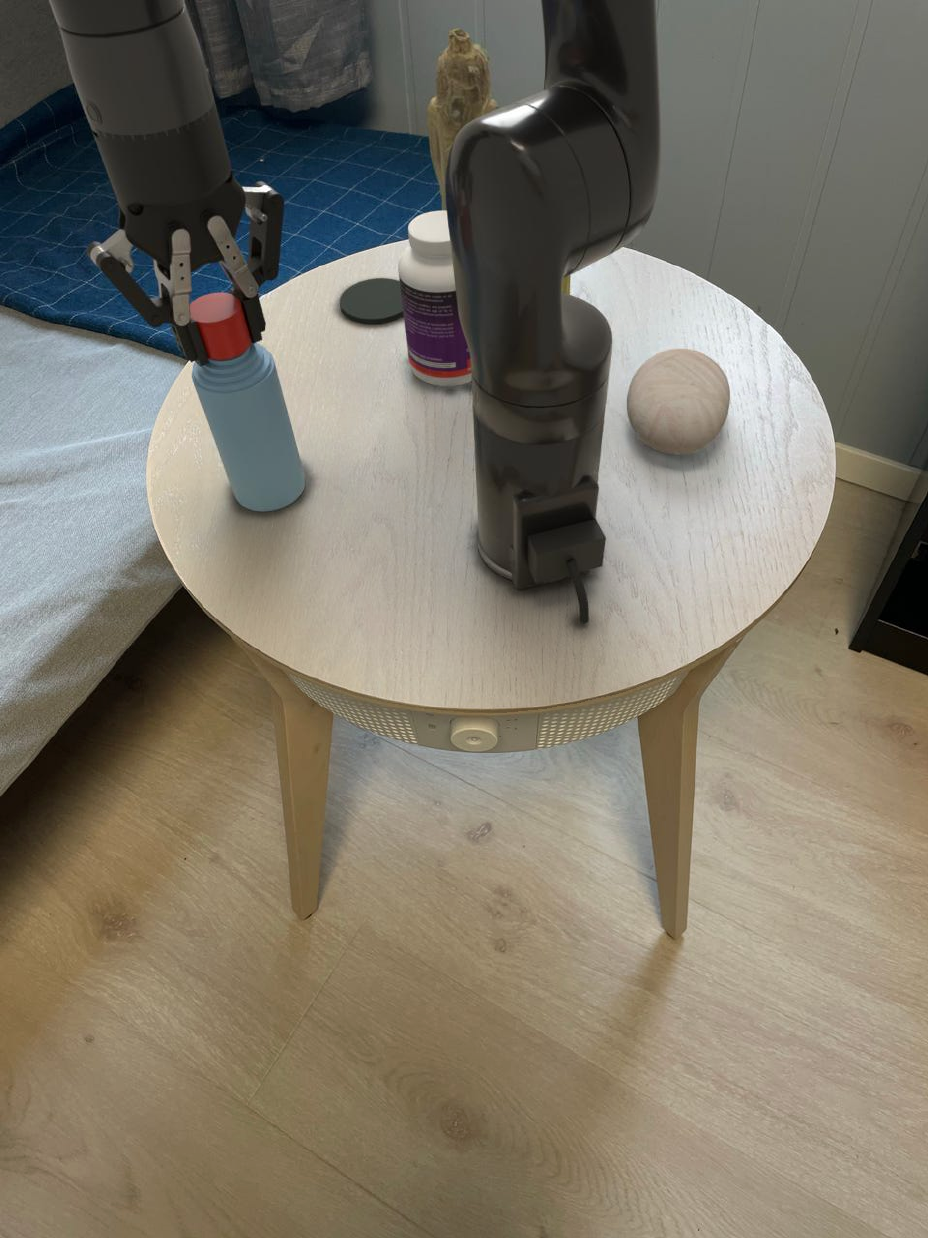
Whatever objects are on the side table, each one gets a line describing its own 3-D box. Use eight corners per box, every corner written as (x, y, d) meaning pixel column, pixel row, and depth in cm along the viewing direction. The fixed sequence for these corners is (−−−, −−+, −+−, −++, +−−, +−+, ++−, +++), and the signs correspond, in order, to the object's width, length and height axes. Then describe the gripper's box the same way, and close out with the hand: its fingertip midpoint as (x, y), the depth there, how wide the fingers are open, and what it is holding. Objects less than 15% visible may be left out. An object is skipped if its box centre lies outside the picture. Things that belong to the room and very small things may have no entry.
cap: (260, 346, 64) (250, 309, 61) (213, 366, 62) (201, 329, 60) (237, 322, 66) (226, 286, 63) (191, 342, 64) (178, 305, 62)
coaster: (421, 315, 91) (421, 310, 90) (348, 330, 90) (347, 325, 89) (403, 276, 96) (403, 272, 95) (334, 291, 95) (333, 286, 94)
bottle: (311, 501, 74) (265, 327, 61) (238, 519, 73) (175, 346, 60) (299, 455, 78) (253, 280, 64) (229, 470, 77) (168, 297, 63)
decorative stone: (639, 373, 83) (646, 328, 79) (733, 388, 81) (744, 343, 77) (609, 458, 76) (615, 413, 72) (711, 478, 74) (723, 432, 70)
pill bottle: (481, 395, 82) (476, 253, 71) (401, 387, 83) (383, 247, 72) (496, 345, 87) (493, 205, 76) (420, 339, 88) (406, 200, 77)
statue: (505, 268, 96) (503, 6, 76) (500, 310, 91) (497, 41, 71) (444, 267, 96) (427, 8, 77) (436, 310, 91) (416, 43, 72)
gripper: (228, 51, 55) (284, 293, 69) (13, 116, 50) (119, 362, 64) (284, 86, 51) (332, 335, 65) (56, 160, 47) (159, 412, 60)
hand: (226, 347), depth 64 cm, fingers closed on cap, 4 cm apart
